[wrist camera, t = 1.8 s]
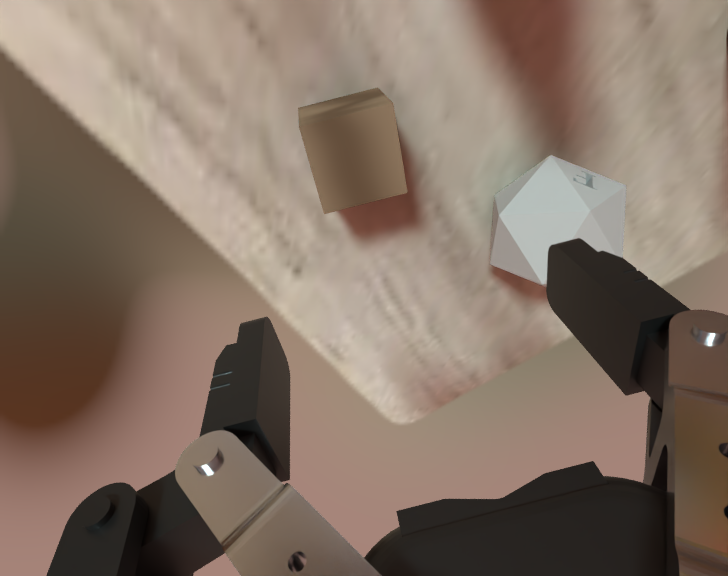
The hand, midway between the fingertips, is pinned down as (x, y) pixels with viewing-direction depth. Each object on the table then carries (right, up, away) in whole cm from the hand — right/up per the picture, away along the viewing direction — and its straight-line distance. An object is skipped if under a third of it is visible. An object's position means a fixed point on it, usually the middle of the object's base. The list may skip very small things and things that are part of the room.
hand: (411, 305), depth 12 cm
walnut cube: (-2, +10, +16) cm, 19 cm away
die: (+11, +7, +20) cm, 24 cm away
